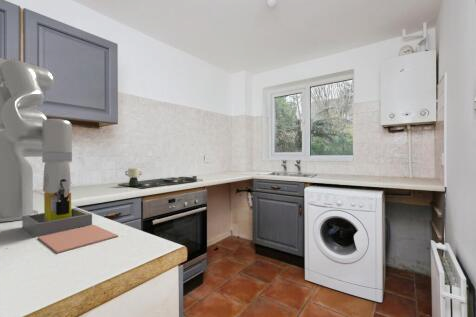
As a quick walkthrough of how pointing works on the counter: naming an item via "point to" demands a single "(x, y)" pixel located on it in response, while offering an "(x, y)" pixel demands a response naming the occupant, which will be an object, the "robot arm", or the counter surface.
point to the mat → (76, 238)
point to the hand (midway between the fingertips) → (58, 211)
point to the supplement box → (54, 207)
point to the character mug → (133, 176)
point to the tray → (55, 223)
